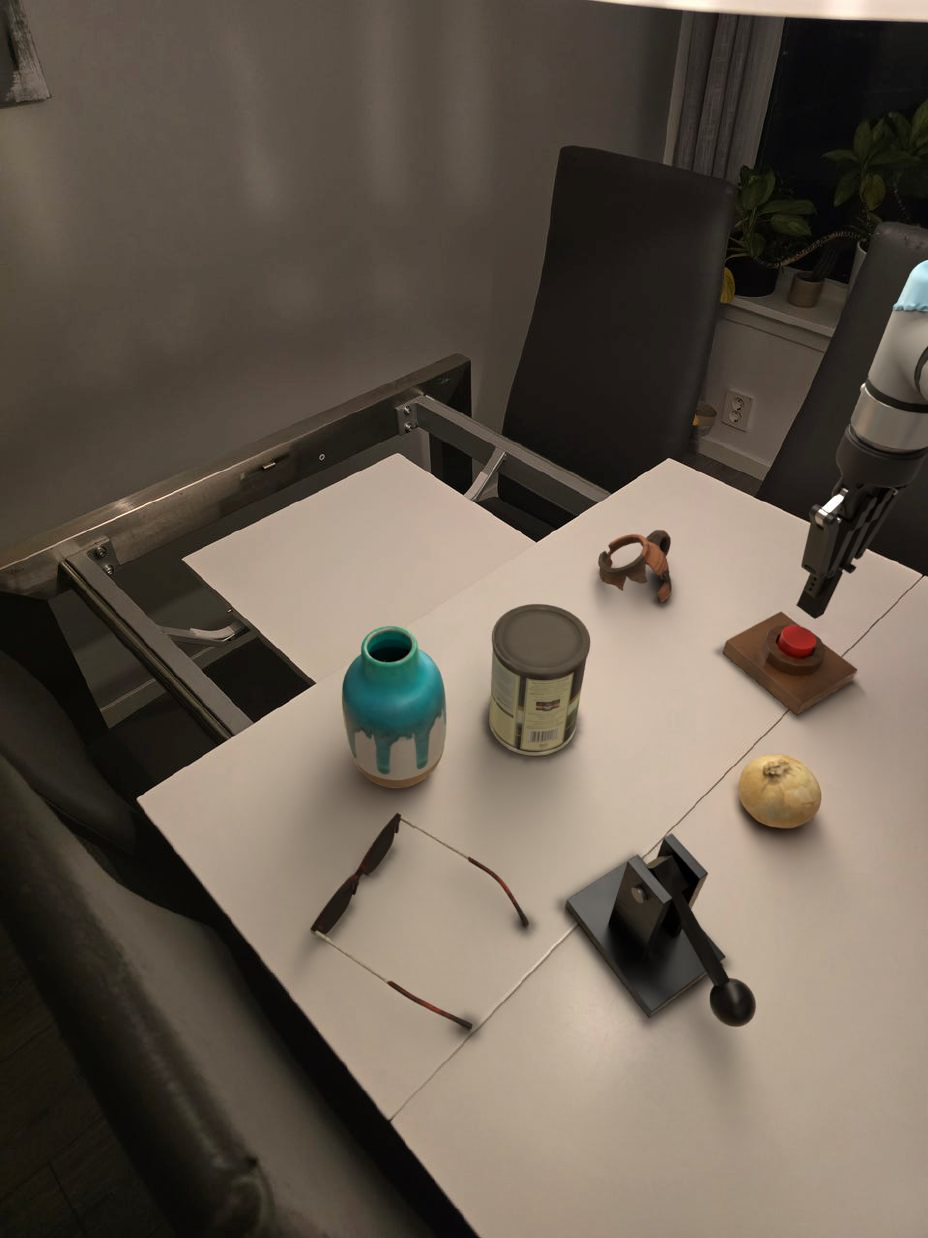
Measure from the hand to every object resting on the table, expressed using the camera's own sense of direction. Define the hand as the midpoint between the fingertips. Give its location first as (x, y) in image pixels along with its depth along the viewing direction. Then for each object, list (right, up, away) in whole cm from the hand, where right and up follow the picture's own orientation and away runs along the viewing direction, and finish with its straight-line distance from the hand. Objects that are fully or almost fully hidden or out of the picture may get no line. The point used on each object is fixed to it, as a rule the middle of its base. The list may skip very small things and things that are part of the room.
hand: (809, 609), depth 91 cm
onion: (-7, -21, -7) cm, 24 cm away
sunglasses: (-44, -31, -17) cm, 56 cm away
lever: (-21, -28, -25) cm, 43 cm away
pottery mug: (-16, +4, +18) cm, 24 cm away
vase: (-48, -17, -4) cm, 51 cm away
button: (0, -4, +4) cm, 6 cm away
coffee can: (-32, -13, 0) cm, 35 cm away
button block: (0, -7, +7) cm, 10 cm away
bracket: (-24, -31, -17) cm, 42 cm away
